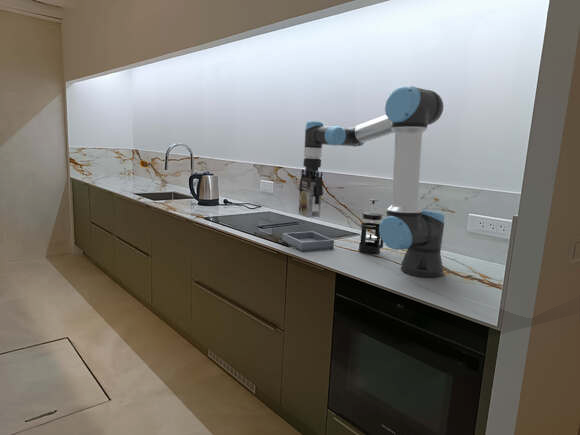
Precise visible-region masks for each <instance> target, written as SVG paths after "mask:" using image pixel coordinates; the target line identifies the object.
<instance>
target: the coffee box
mask: <svg viewBox="0 0 580 435" xmlns="http://www.w3.org/2000/svg"><path fill="white" fill-rule="evenodd" d="M300 180H301V182H300V181H299V186H300V191H299V199H298V200H299V203H298V204H299V205H298V206H299V207H298V214H299V215H301V216H304V217H306V218H320V217H321V205H322V196H320V197H319V208H318V211H315V212H313V211H312V204H313V195H314V192H313V191H314V186H316V180H310V179H305V178H301V177H300Z"/></svg>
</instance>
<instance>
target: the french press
mask: <svg viewBox="0 0 580 435" xmlns="http://www.w3.org/2000/svg"><path fill="white" fill-rule="evenodd" d="M368 201H371V202H372V203H371V204H372V210H371V211H363V212H362V211H361V214H362V218H363V219H364V220H369V221H370V220H371V221H370V222H362V223H360V228H361V234H360V242H359V244H358V249H357V251H358V253H361V254H365V255H379V254H381V249H383V247H384V242H383V241H382V239H381V236H380V233H379V227H380V223H376V222H373V221H382V220H383V219H382V218H383V216H384V214H383V213H381V212H378V211H377V212H376V211H374V206H375V204H376V203H375V202H379V199H376V198H369V199H368ZM367 230H370V233H369V235H368V234H367ZM374 230H375V231H374ZM372 231H374V235H372Z"/></svg>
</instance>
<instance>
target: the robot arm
mask: <svg viewBox="0 0 580 435" xmlns="http://www.w3.org/2000/svg"><path fill="white" fill-rule="evenodd" d="M443 111H444V102H443V99H442V97H441V95H439V94H438V93H437V92H435V91H433V90H429V89H424V88H420V87H416V86H414V85H413V86H411V85H410V86H409V85H403V86H398V87H397V88H396V89H394V90H392V92H391V93H390V94H389V95H388V96H387V99H386V101H385V106H384V113H385V115H382V116H380V117H377V118H374V119H371V120H368V121H366V122H364V123H361V124H358V125H356V126H352V127H346V126H345V127H341V126H337V125H332V126H331V125H326V126H325V125H324V122H323V121H320V120H316V121H315V120H308V121H306V124H305V130H304V147H303V148H304V150H303V157H304V158H303V163H302V164H303V167H305V169H301V174H300V181H299V183H300V182H301V178H305V179H310V180H316V186H314V191H313V192H314V195H313V204H312V211H313V212H315V211H318V208H319V197H320V196H321V197H322V196H323V195H324V192H323V191H324V190H323V189H324V188H323V187H324V186H323V172H322V171H319V168H321V167H322V159H321V158H322V153H323V152H322V149H323V145H324V146H325V145H329V146H342V147H344V146H345V147H352V148H353V147H361V146H363V145H364V144H365V143H367V142H369V141H372V140H376V139H379V138H382V137H385V136H388V135H391V134H392V135H393V134H394V152H393V154H394V155H393V157H394V159H393V174H392V176H393V177H392V193H391V195H392V196H391V205H390V206H388V208H386V216H385V217H384V218H383V219H382V220H380V223H379V224H380V227H379V233H380V240H381V239H382V241H383V244H385V246H387V247H388V248H389V249H391V250H395V251H396V250H397V251H398V250H400V251H401V250H402V251H404V250H406V253H405V254H404V257H403V260H402V261H401V263H400V270H401V271H402V272H404V273H406V274H409V275H411V276H416V277H419V278H420V277H421V278H440V277H442V276H444V270H445V268H444V265H443V261H442V260H443V259H442V255H441V252H442V251H441V249H442V245H443V243H442V242H443V236H444V228H445V215H444V214H443V213H442V212H438V211H433V210H427V209H421V208H420V207H419V191H420V190H419V189H420V176H421V175H420V172H421V158H422V157H421V156H422V155H421V154H422V137H423V133H424V132H425V131H426V130H428V126H429V125H432V124H434V123H436V122H438V121H439V119H440V118H441V117H442V115H443ZM298 188H299V189H298V191H299V192H300V185H299V187H298Z"/></svg>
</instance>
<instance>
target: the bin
mask: <svg viewBox="0 0 580 435" xmlns="http://www.w3.org/2000/svg"><path fill="white" fill-rule="evenodd" d="M282 240H283V241H285V242H287V243H289V244H290V245H292V246H293V247H294V249H295V248H296V249H295V250H298V251H299V252H301V253H302V252H313V251H316V252H317V251H325V250H326V251H327V250H334V248H335V247H334V246H335V245H334V244H335V239H332V238H330V237H328V236H325V235H322V234H320V233H318V232H316V231H314V230H313V231H299V232H296V231H295V232H283V233H282ZM293 247H292V248H293Z"/></svg>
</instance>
